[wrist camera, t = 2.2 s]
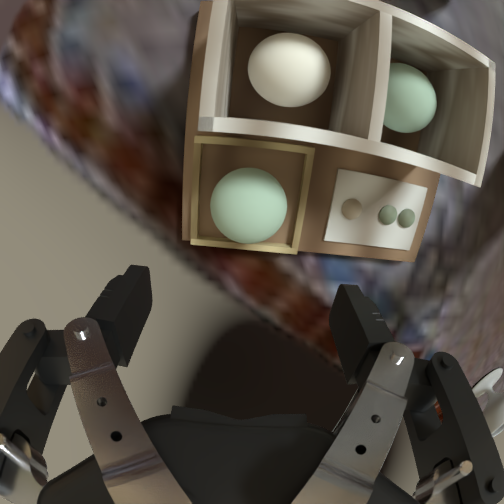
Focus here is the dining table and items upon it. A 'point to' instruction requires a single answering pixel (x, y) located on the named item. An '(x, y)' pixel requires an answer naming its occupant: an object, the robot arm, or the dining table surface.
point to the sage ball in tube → (408, 99)
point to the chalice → (492, 402)
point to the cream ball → (289, 70)
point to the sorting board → (333, 126)
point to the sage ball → (248, 205)
